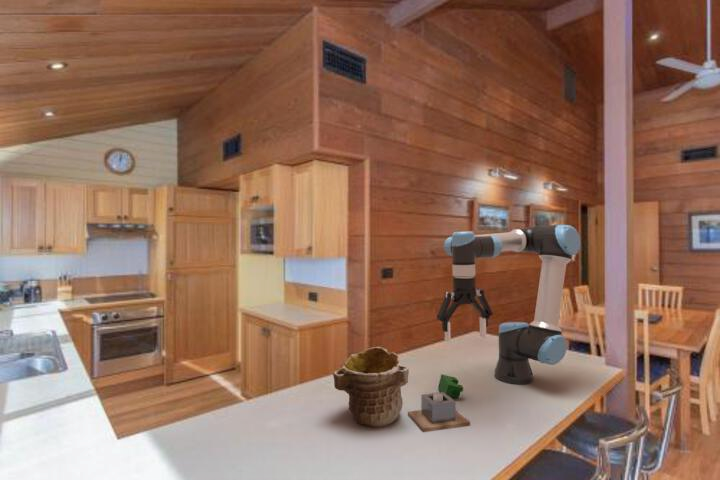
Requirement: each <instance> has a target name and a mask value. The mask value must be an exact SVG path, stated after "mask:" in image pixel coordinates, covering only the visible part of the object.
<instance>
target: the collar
mask: <svg viewBox="0 0 720 480" xmlns="http://www.w3.org/2000/svg"><path fill="white" fill-rule="evenodd" d="M435 393H436V392H433V393H425V394H421V401H420V403H421V409H420V410H421V413H422V414H423V415H424V416H425V417H426V418H427V419H428V420H429V421H430V422H431V423H432V424H436V423H443V422H450V421H456V411H457V410H456V409H457V408H456V405H457V404H456V403H457V402H456V401H455V400H454V399H453V397H451V398H450V397H449V396H448V395H446V394H445V393H444V392H440V391H439V393H440V394H442V395H443V401H440V402H434V401H433V394H435Z"/></svg>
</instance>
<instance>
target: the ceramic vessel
mask: <svg viewBox="0 0 720 480" xmlns="http://www.w3.org/2000/svg"><path fill="white" fill-rule="evenodd" d="M409 372H410V368H409V367H408V366H405V365H402V364H401V363H400V360H399V355H398V354H396V353H395V352H388V349H387V348H383V347H382V346H373V347H370V348H368V349H365V350H364V351H362V350H361V351H360V352H358V353H353V354H350V356H349V357H348V358H347V359H346V360H345V361H344V362H343V363H342V365H341V366H340V368H339V369H337V370H333V373H332V376H333V380H334V381H333V382H334V383H333V385H334V389H335V390H337V391H342V392H345V393H347V395H348V397H349V398H348V410H349V411H350V413H351V414H352V416H353V418H354V420H355V422H357V423H358V424H361V425H365V426H370V427H375V428H381V427H386V426H389V425H391V424H392V423H393V422H394V421H395V420H396V419H397V418H398V416H399V415H400V414H401V411H402V409H403V405H404V404H403V403H404V402H403V397H402V387H404V386H406V385H407V384H408V383H409Z"/></svg>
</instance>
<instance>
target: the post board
mask: <svg viewBox="0 0 720 480" xmlns="http://www.w3.org/2000/svg"><path fill="white" fill-rule="evenodd" d="M434 393H435V394H433V401H434V402H440V401H443V395H442V394H440V392H434ZM407 415H408V417H409V418H410V419H411V420H412V421H413V422H414V424H416V426H417V427H418V428H419V429H420V430H421V431H422V433H424V432H431V431H438V430H444V429H445V430H447V429H453V428H462V427H467V426H471V422H470V420H468V419H467V418H466V417H465V416H463V414H461V413H460V412H459V411H458V410H456V421H450V422H443V423H436V424H432V423H431V422H430V421H429V420H428V419H427V418H426V417H425V416H424V415H423V414H422V413H421V409H419V410H411V411H407Z"/></svg>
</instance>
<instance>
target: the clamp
mask: <svg viewBox="0 0 720 480" xmlns="http://www.w3.org/2000/svg"><path fill="white" fill-rule="evenodd" d="M438 391H439V393H440V392H444V393H445V394H446V395H448V396H449V397H450V398H453V397H455V398H458V399H460V396H461V393H462V392H463V391H464V386H463V385H462V384H459V379H458V378H456V377H455V376H451V375H448V374H447V375H446V374H443V373H442V374H440V378H439V382H438Z"/></svg>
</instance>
